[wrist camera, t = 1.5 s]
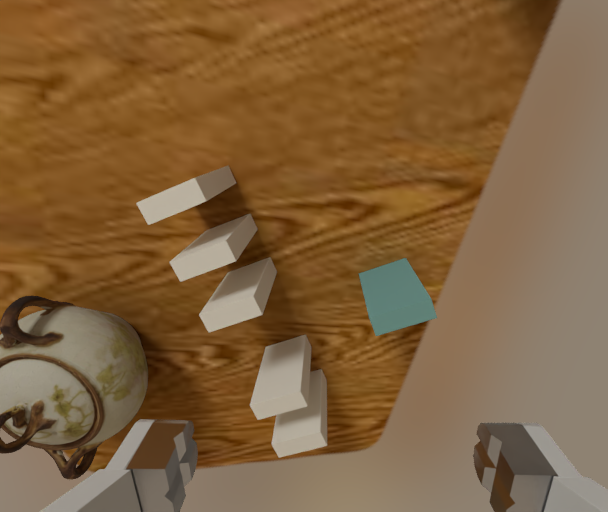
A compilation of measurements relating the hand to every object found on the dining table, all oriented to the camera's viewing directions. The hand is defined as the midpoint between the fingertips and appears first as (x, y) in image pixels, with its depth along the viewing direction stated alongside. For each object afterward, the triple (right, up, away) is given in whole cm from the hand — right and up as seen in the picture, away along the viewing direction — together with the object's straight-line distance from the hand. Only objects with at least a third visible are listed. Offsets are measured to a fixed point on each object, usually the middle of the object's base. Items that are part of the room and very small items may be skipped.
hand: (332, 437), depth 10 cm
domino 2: (-8, +8, +25) cm, 28 cm away
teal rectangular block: (+8, +3, +26) cm, 27 cm away
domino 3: (-6, +4, +27) cm, 28 cm away
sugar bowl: (-24, -5, +31) cm, 40 cm away
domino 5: (-1, -10, +31) cm, 33 cm away
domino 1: (-10, +12, +24) cm, 29 cm away
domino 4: (-3, -5, +30) cm, 30 cm away
